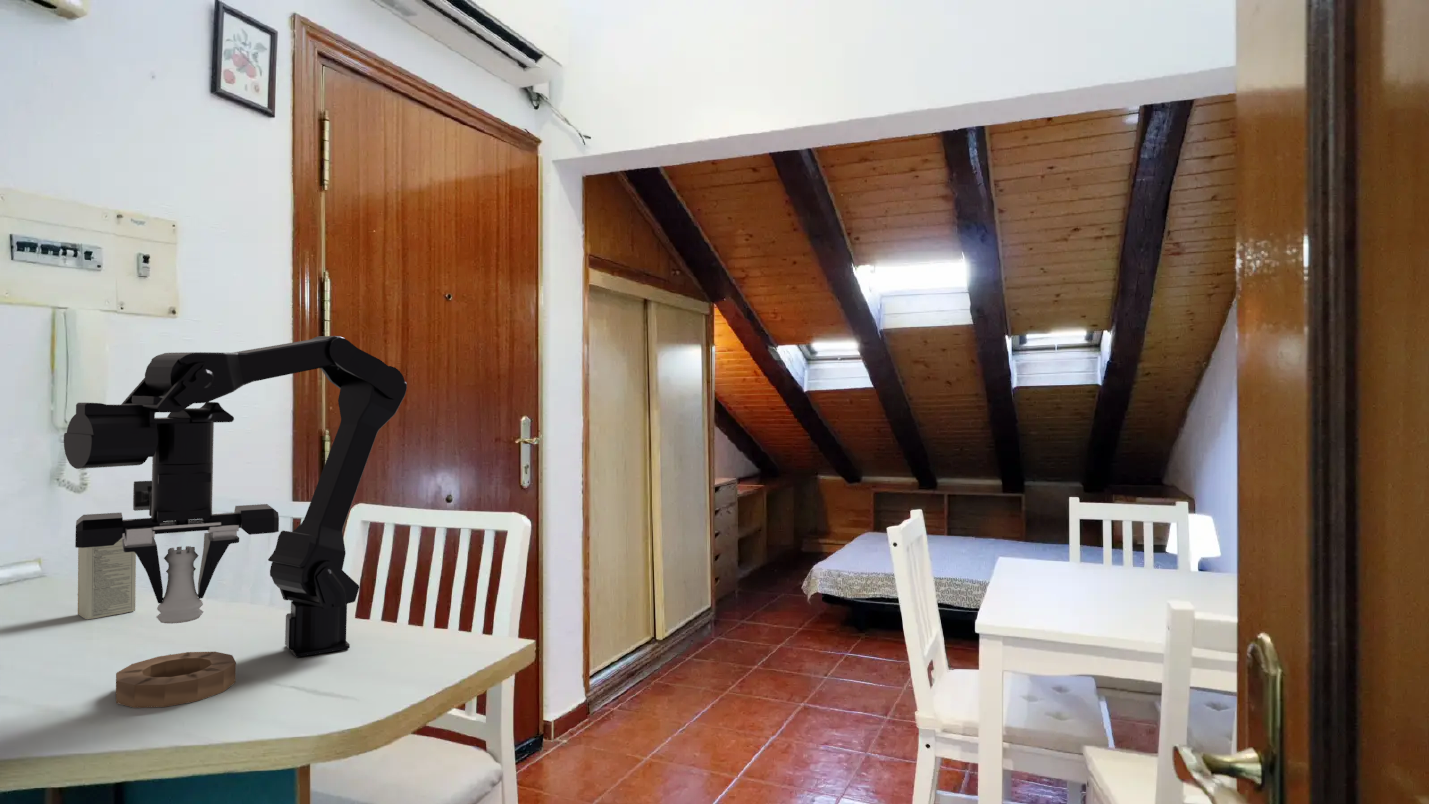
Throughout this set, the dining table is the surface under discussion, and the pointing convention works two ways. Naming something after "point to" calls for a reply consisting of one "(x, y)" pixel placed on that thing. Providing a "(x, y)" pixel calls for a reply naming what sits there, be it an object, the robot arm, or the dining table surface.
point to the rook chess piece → (180, 588)
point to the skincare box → (106, 581)
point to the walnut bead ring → (175, 679)
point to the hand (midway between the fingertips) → (180, 600)
